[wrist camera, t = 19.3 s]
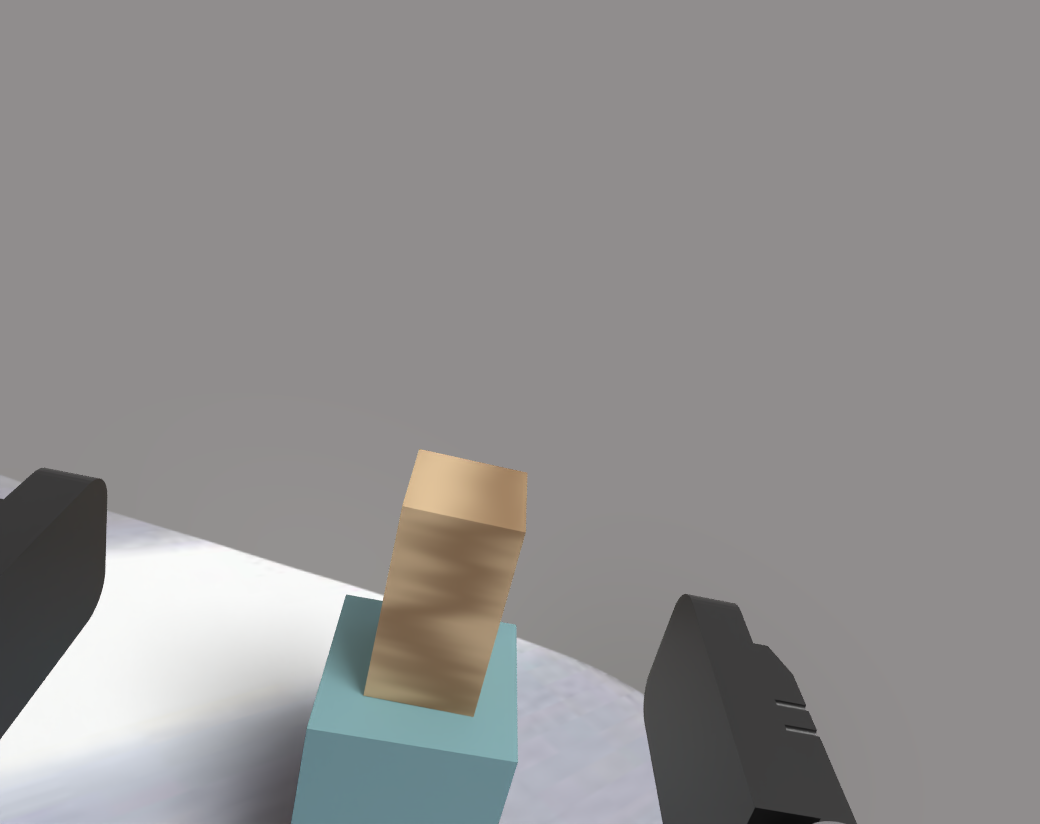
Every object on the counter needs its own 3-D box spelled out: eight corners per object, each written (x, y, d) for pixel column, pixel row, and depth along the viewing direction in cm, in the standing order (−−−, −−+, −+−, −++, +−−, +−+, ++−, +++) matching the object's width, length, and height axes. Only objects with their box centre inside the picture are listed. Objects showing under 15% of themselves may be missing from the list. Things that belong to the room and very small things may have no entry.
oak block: (363, 695, 36) (402, 506, 32) (383, 623, 41) (419, 449, 37) (473, 717, 37) (525, 532, 33) (480, 642, 41) (527, 472, 37)
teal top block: (290, 826, 36) (306, 728, 34) (330, 682, 45) (346, 594, 42) (488, 856, 37) (517, 762, 35) (492, 709, 46) (516, 625, 43)
